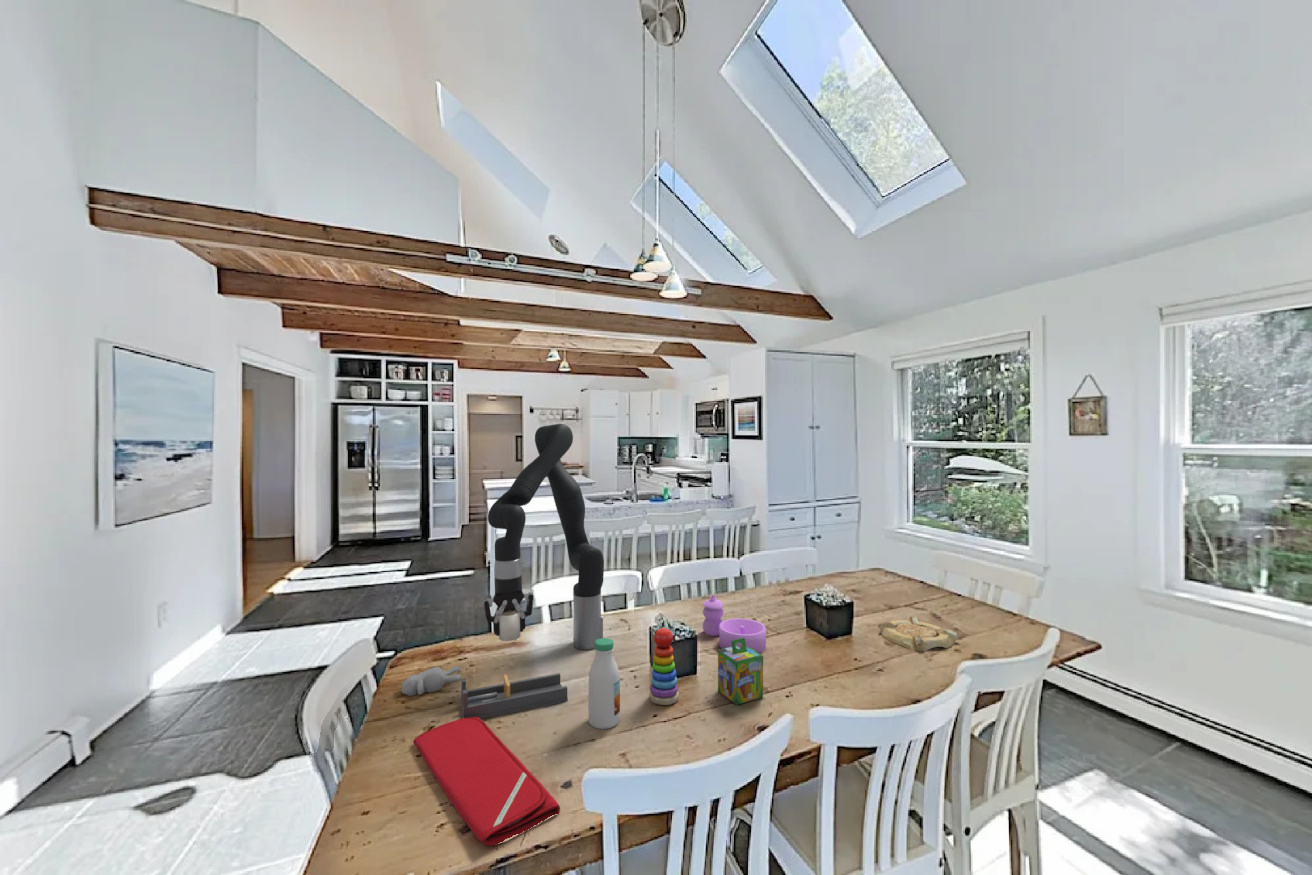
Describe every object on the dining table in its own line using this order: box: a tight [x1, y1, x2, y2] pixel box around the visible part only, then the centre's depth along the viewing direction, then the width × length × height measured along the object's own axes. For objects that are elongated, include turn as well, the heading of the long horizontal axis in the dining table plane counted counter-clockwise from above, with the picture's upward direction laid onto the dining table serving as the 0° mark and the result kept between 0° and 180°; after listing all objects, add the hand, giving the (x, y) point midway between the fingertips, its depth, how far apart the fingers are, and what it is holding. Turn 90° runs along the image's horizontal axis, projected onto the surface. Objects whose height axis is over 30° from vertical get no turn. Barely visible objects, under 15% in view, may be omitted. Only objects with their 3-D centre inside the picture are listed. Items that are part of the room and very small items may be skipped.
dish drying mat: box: [412, 717, 561, 847], centre depth 110 cm, size 16×41×4 cm, turn 40°
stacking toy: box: [648, 627, 680, 706], centre depth 141 cm, size 8×8×19 cm
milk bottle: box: [588, 637, 621, 730], centre depth 130 cm, size 8×8×20 cm
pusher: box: [468, 674, 510, 703], centre depth 136 cm, size 11×7×5 cm, turn 113°
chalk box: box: [717, 638, 764, 706], centre depth 143 cm, size 9×9×15 cm
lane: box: [460, 672, 568, 720], centre depth 139 cm, size 26×10×7 cm, turn 113°
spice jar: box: [498, 609, 522, 642], centre depth 150 cm, size 6×6×8 cm
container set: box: [702, 595, 767, 654], centre depth 180 cm, size 25×15×13 cm, turn 39°
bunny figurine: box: [400, 665, 462, 696], centre depth 147 cm, size 10×5×15 cm
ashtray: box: [877, 615, 958, 652], centre depth 182 cm, size 24×24×5 cm
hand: (509, 632), depth 150 cm, fingers closed on spice jar, 6 cm apart
